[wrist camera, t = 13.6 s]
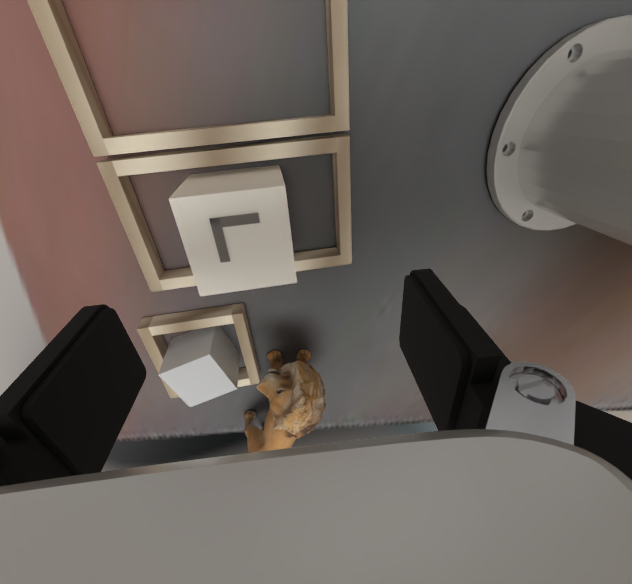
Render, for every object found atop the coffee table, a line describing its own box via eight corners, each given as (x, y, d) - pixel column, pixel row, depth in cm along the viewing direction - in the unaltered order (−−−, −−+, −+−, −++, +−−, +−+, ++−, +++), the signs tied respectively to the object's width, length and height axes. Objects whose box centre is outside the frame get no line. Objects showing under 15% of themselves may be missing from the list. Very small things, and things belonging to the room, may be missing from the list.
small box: (243, 302, 25) (242, 313, 23) (260, 371, 29) (259, 383, 28) (142, 317, 24) (136, 329, 23) (174, 385, 28) (170, 398, 27)
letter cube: (279, 164, 20) (285, 186, 15) (289, 244, 23) (297, 283, 18) (189, 174, 19) (167, 199, 15) (212, 254, 22) (199, 297, 18)
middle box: (344, 133, 19) (349, 136, 18) (347, 255, 24) (351, 263, 23) (106, 158, 18) (96, 162, 17) (156, 281, 23) (151, 292, 21)
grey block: (216, 319, 25) (209, 354, 22) (239, 353, 27) (237, 388, 24) (171, 338, 26) (157, 374, 22) (198, 369, 28) (190, 407, 24)
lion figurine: (259, 313, 25) (259, 404, 18) (322, 319, 27) (347, 406, 19) (240, 428, 33) (234, 528, 25) (291, 428, 34) (300, 524, 26)
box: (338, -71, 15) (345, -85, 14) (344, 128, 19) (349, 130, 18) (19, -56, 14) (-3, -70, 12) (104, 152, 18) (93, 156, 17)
